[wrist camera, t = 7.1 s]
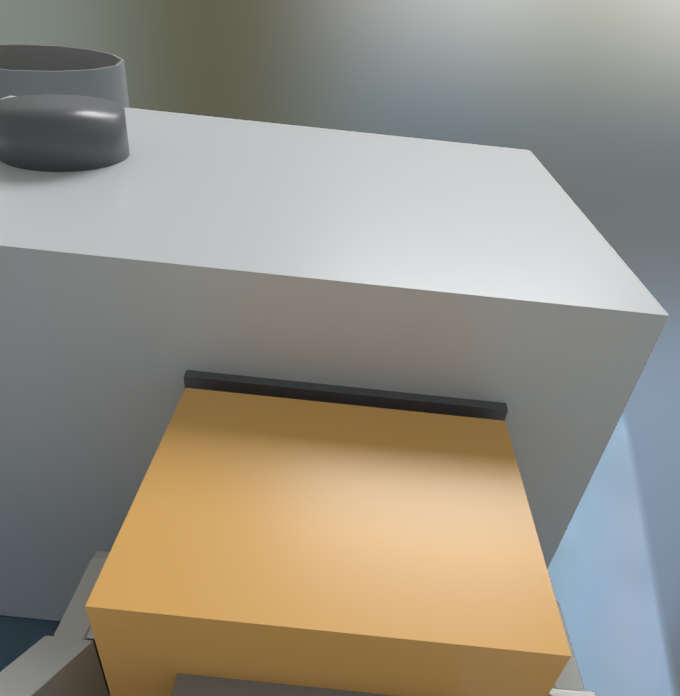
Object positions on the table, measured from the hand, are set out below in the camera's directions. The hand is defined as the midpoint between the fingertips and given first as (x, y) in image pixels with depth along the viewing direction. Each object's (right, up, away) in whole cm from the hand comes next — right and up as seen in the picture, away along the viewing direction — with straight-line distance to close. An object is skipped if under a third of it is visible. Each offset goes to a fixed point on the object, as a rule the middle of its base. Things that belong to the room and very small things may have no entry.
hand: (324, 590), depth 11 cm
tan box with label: (-1, -5, +2) cm, 5 cm away
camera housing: (-4, 0, +8) cm, 9 cm away
